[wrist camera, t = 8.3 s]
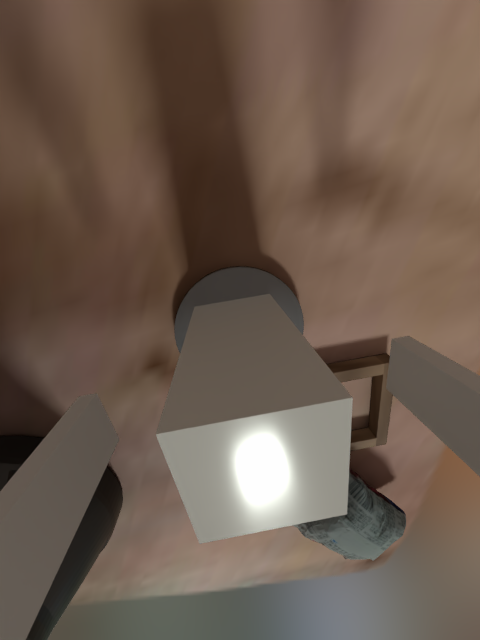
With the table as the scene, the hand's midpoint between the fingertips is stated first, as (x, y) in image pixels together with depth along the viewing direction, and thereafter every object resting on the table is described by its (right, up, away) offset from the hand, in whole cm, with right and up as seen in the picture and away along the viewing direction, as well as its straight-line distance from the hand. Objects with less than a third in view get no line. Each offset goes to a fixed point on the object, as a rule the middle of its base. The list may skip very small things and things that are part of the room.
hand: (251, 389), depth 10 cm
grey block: (-1, +2, +6) cm, 6 cm away
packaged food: (+10, -16, +15) cm, 24 cm away
